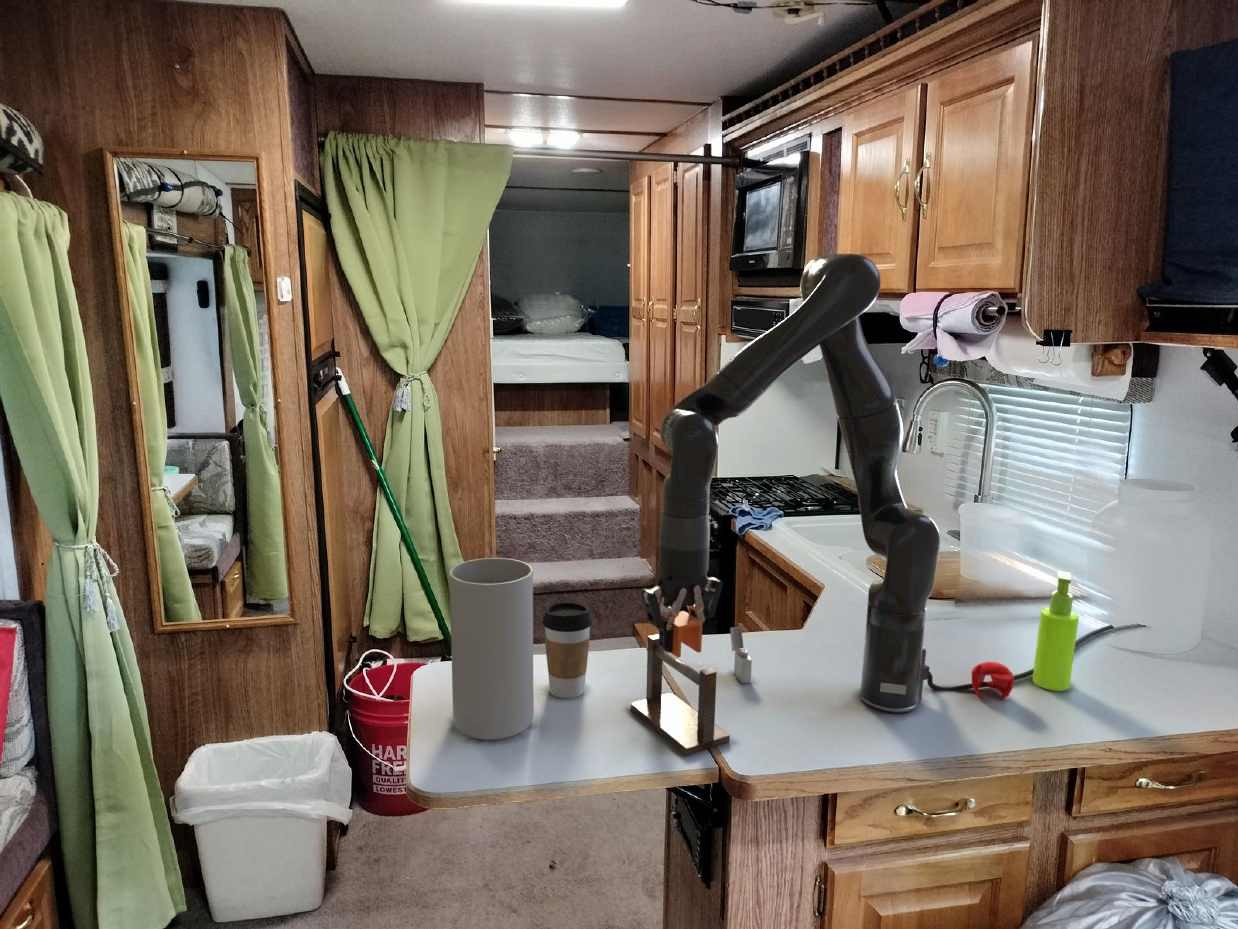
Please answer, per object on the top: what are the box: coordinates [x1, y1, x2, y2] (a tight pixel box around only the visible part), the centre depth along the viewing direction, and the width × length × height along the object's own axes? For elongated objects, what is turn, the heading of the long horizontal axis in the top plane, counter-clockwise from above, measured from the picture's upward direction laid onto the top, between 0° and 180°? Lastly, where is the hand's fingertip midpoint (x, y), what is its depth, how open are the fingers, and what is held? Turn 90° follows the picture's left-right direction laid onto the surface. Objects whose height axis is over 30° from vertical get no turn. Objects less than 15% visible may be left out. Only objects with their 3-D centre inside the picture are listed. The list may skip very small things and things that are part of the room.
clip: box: [670, 610, 703, 659], centre depth 130 cm, size 4×5×5 cm
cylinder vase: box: [449, 557, 534, 741], centre depth 131 cm, size 12×12×25 cm
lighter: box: [729, 626, 753, 684], centre depth 151 cm, size 7×2×8 cm, turn 12°
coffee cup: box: [541, 601, 593, 699], centre depth 143 cm, size 8×8×15 cm
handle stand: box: [630, 633, 731, 757], centre depth 132 cm, size 8×16×12 cm, turn 30°
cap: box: [971, 661, 1015, 700], centre depth 145 cm, size 8×6×6 cm
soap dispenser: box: [1032, 570, 1080, 692], centre depth 149 cm, size 6×7×20 cm
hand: (680, 647), depth 131 cm, fingers closed on clip, 4 cm apart
